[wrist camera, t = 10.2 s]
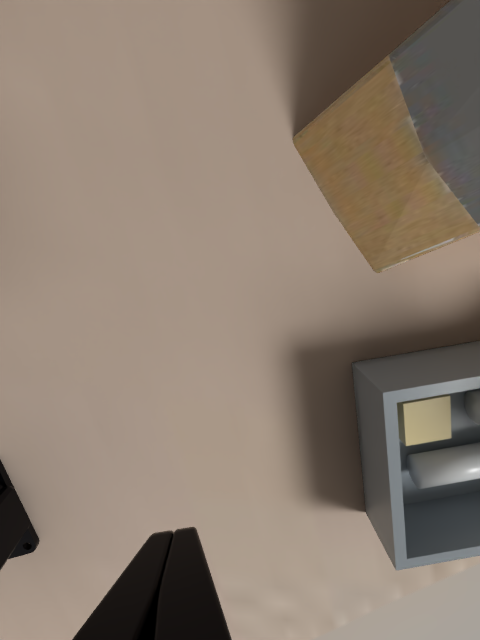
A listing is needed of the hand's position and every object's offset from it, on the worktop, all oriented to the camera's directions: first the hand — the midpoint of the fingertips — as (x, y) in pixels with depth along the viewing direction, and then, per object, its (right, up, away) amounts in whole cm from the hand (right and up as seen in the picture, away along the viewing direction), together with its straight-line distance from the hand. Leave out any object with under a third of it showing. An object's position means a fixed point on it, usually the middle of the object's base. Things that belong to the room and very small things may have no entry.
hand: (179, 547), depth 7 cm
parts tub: (+15, -2, +15) cm, 21 cm away
